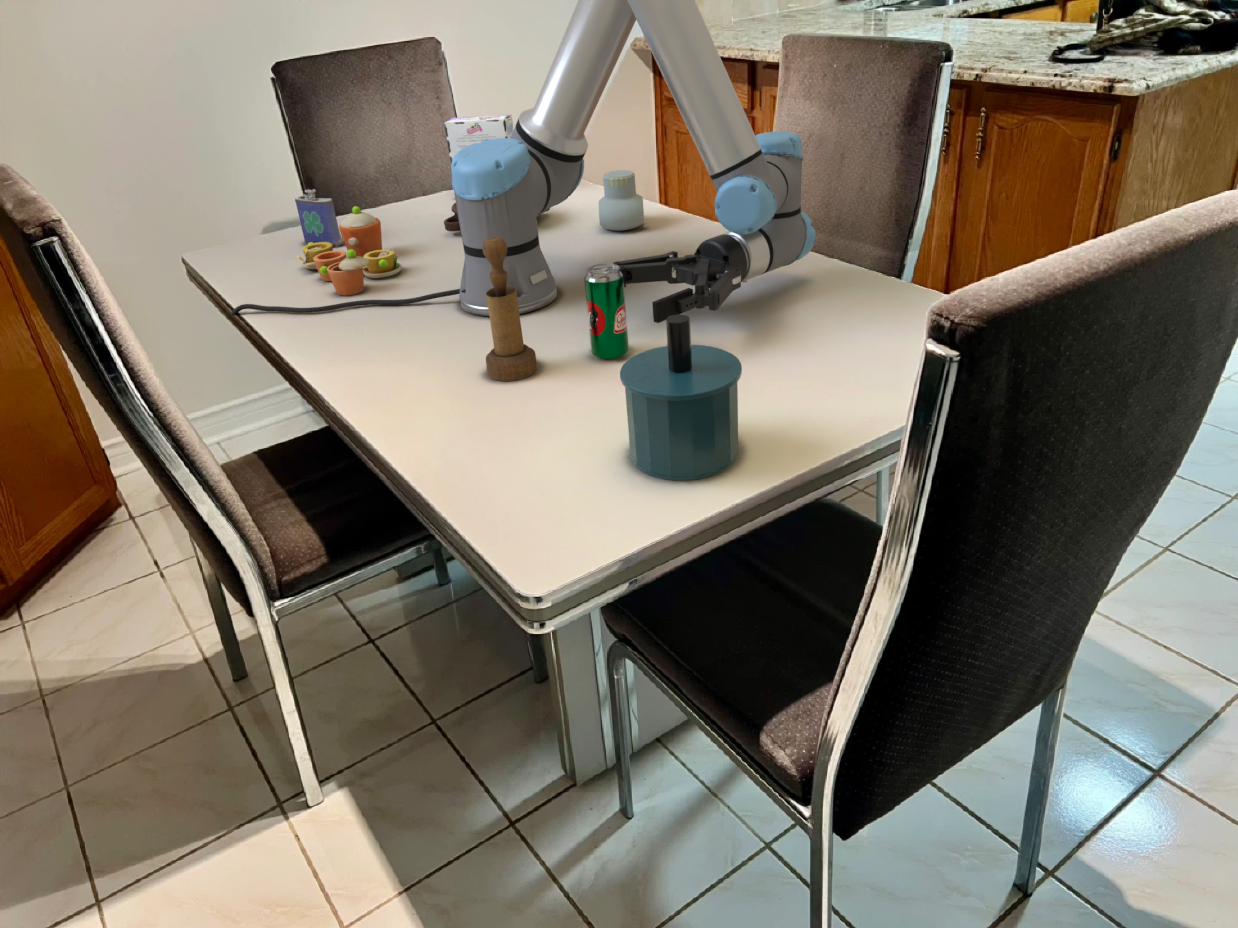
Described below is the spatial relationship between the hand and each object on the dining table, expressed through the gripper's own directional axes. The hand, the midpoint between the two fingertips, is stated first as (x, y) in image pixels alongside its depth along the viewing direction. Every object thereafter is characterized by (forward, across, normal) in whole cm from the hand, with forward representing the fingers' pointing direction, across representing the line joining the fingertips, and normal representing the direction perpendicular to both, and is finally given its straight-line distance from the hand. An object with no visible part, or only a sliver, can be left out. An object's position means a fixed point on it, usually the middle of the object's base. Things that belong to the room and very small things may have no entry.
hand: (620, 301), depth 125 cm
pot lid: (+14, -27, +3) cm, 30 cm away
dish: (-25, +66, -7) cm, 71 cm away
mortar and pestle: (+14, +6, -7) cm, 17 cm away
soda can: (+2, 0, -7) cm, 7 cm away
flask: (+4, +86, -7) cm, 86 cm away
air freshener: (-38, +44, -7) cm, 59 cm away
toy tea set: (+8, +63, -7) cm, 64 cm away
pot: (+14, -27, -7) cm, 31 cm away
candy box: (-38, +89, -7) cm, 97 cm away
